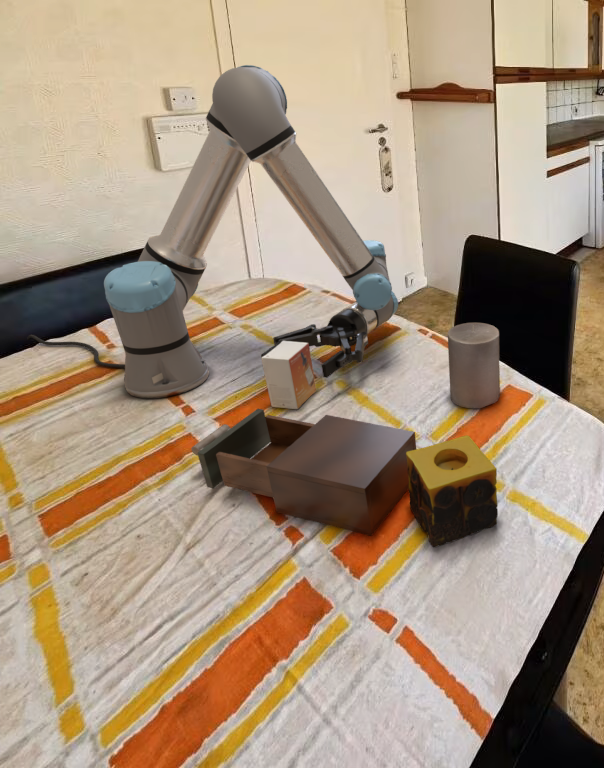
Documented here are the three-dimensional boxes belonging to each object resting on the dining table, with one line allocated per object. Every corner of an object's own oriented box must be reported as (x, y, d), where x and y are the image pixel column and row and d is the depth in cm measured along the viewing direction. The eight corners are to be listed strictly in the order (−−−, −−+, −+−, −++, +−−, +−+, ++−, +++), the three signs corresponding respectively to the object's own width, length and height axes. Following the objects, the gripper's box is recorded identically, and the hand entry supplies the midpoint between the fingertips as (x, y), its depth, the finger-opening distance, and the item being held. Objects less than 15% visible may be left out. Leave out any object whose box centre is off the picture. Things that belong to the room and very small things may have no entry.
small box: (297, 410, 117) (288, 360, 112) (270, 407, 118) (259, 357, 113) (317, 390, 124) (309, 342, 119) (291, 387, 125) (282, 339, 120)
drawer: (181, 480, 96) (170, 446, 93) (241, 435, 108) (233, 403, 105) (287, 507, 91) (279, 471, 88) (339, 456, 102) (333, 423, 99)
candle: (432, 550, 84) (427, 491, 80) (407, 507, 92) (402, 451, 88) (499, 526, 89) (499, 469, 84) (470, 487, 96) (468, 433, 92)
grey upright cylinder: (456, 383, 126) (452, 314, 119) (503, 386, 125) (503, 317, 118) (445, 407, 118) (441, 334, 111) (496, 411, 117) (495, 337, 110)
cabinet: (276, 512, 91) (266, 466, 87) (333, 457, 104) (326, 414, 100) (371, 536, 87) (364, 488, 83) (418, 475, 99) (415, 431, 95)
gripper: (404, 347, 135) (353, 393, 117) (306, 333, 142) (243, 374, 124) (401, 315, 131) (348, 357, 114) (301, 302, 138) (235, 339, 121)
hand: (293, 366), depth 119 cm, fingers open, 13 cm apart
